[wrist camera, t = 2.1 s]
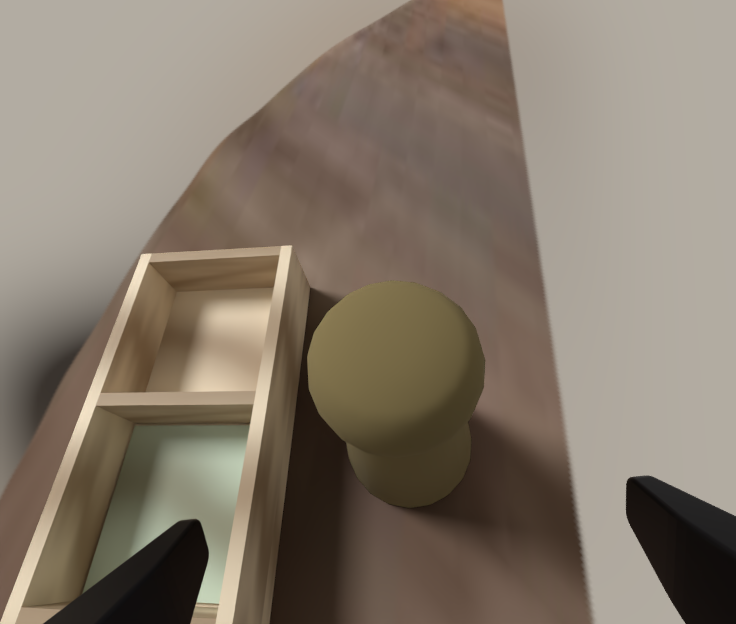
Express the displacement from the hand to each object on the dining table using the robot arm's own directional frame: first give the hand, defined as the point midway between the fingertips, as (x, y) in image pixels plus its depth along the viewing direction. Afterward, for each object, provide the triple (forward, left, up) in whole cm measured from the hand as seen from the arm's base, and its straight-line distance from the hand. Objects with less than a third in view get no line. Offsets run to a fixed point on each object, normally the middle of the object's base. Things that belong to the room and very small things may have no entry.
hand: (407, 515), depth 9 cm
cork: (+4, +2, -11) cm, 12 cm away
